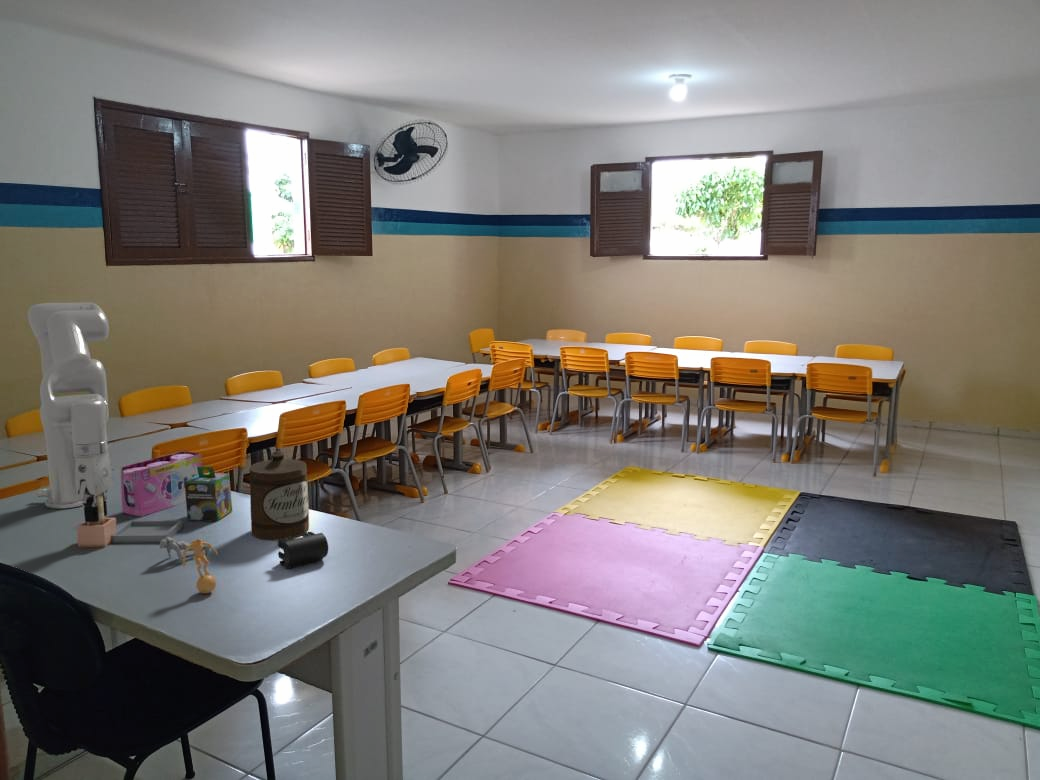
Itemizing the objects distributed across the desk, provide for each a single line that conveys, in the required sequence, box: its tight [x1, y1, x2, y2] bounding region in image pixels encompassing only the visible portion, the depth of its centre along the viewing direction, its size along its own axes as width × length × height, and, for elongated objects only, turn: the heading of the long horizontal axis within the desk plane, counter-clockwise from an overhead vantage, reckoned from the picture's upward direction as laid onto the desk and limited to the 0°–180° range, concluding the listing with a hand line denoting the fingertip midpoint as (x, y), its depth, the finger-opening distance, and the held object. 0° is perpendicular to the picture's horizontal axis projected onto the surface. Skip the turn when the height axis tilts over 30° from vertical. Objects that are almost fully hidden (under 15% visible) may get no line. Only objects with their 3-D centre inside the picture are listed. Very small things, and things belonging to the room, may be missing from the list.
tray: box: [110, 519, 185, 544], centre depth 205 cm, size 14×12×2 cm
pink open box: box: [76, 517, 118, 548], centre depth 198 cm, size 7×7×6 cm
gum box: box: [120, 450, 202, 517], centre depth 229 cm, size 24×8×14 cm, turn 155°
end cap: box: [277, 531, 329, 569], centre depth 186 cm, size 10×7×7 cm
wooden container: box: [249, 450, 310, 541], centre depth 207 cm, size 15×15×22 cm
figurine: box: [182, 538, 219, 594], centre depth 169 cm, size 8×6×12 cm
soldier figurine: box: [159, 537, 211, 565], centre depth 188 cm, size 6×5×12 cm
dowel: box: [87, 492, 105, 525], centre depth 197 cm, size 4×4×15 cm
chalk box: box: [185, 466, 233, 522], centre depth 219 cm, size 9×9×15 cm
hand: (96, 517), depth 198 cm, fingers closed on dowel, 3 cm apart
